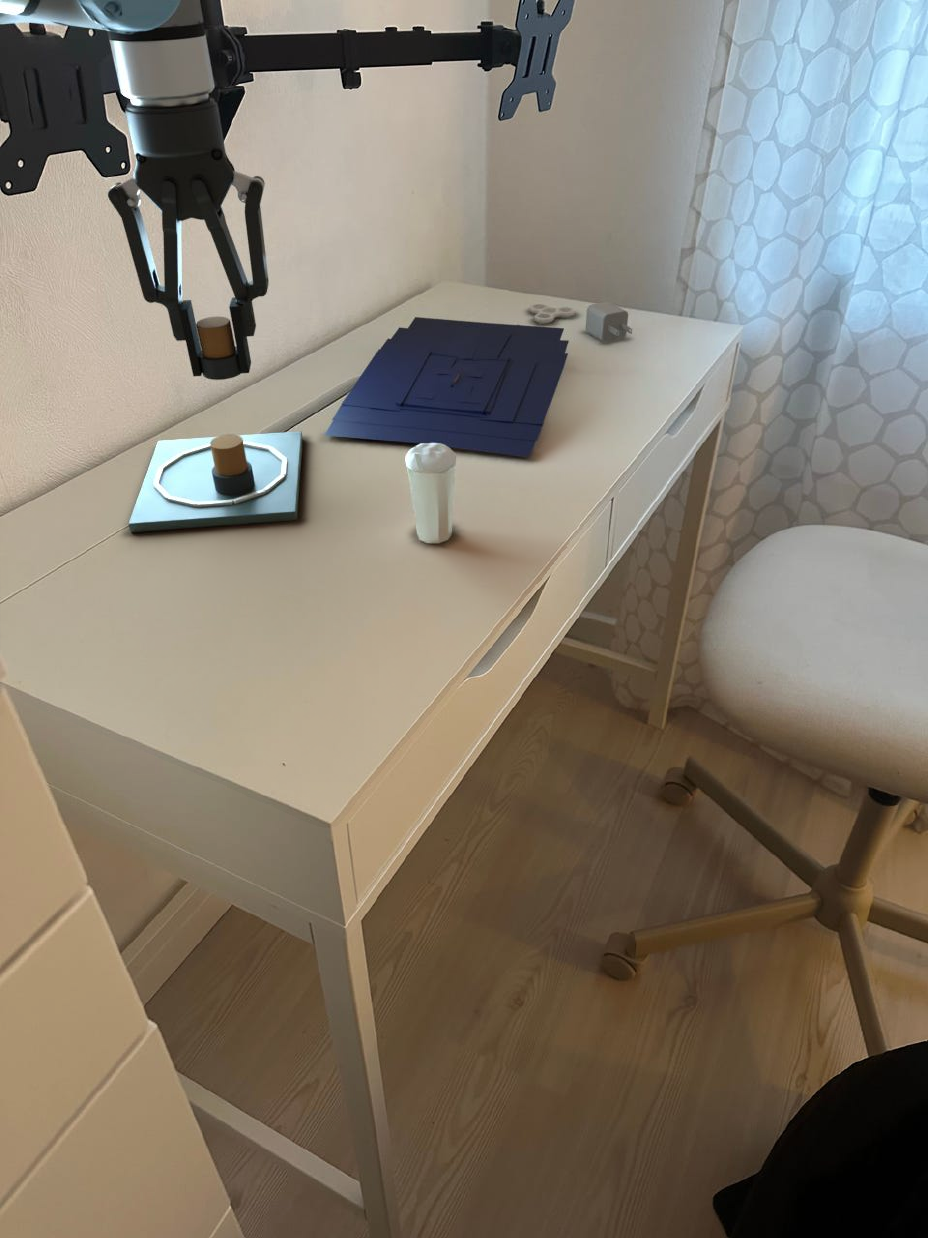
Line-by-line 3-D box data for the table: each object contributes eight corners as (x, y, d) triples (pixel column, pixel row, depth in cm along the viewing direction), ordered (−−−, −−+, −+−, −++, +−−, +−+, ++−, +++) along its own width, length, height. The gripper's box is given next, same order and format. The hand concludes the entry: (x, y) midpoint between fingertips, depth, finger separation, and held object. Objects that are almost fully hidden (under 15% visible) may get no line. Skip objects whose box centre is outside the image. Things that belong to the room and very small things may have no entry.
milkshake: (399, 547, 84) (392, 450, 77) (421, 519, 87) (415, 424, 81) (445, 556, 82) (441, 458, 76) (464, 526, 86) (462, 431, 80)
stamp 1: (200, 381, 87) (189, 330, 84) (205, 365, 90) (194, 316, 87) (241, 378, 87) (232, 327, 84) (245, 362, 90) (236, 313, 87)
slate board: (130, 532, 87) (127, 521, 86) (159, 448, 101) (157, 437, 100) (296, 520, 88) (295, 508, 87) (302, 438, 102) (301, 428, 101)
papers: (577, 348, 119) (578, 322, 116) (531, 478, 98) (531, 450, 96) (403, 334, 124) (401, 309, 121) (325, 455, 103) (320, 428, 101)
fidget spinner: (577, 312, 133) (577, 307, 133) (563, 326, 129) (563, 321, 128) (533, 307, 136) (533, 301, 135) (518, 320, 131) (518, 315, 131)
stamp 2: (213, 497, 90) (203, 451, 87) (217, 478, 93) (208, 433, 90) (253, 494, 90) (245, 449, 87) (256, 475, 93) (248, 431, 90)
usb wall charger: (609, 328, 128) (611, 300, 126) (636, 344, 123) (639, 315, 121) (585, 333, 127) (587, 305, 124) (611, 349, 122) (614, 320, 119)
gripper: (275, 87, 78) (310, 350, 92) (75, 95, 76) (141, 360, 91) (270, 100, 72) (307, 378, 86) (53, 109, 71) (128, 390, 85)
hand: (222, 368), depth 88 cm, fingers closed on stamp 1, 4 cm apart
